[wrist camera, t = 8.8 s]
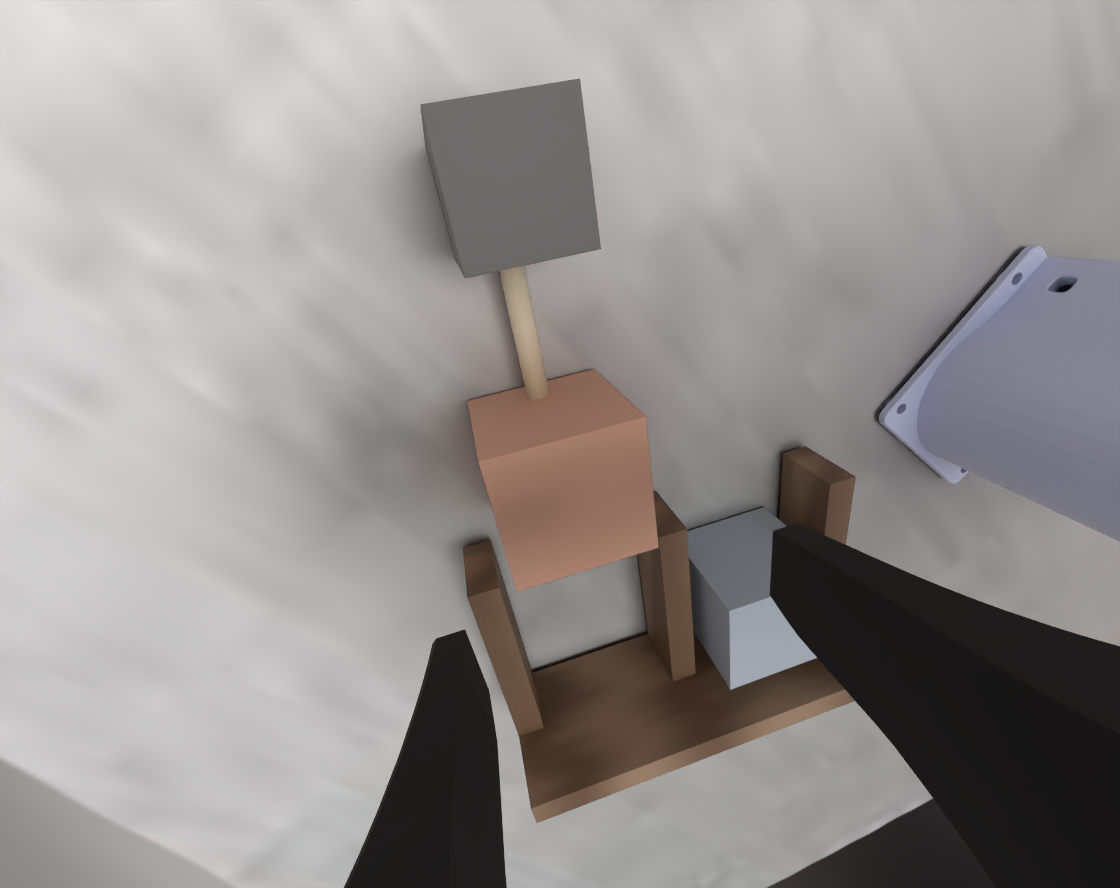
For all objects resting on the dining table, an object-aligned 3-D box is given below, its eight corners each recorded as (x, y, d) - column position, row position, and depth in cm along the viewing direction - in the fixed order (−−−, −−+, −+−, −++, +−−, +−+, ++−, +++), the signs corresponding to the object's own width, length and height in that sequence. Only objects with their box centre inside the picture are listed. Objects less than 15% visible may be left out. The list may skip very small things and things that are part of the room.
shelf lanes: (805, 446, 22) (921, 516, 17) (792, 599, 27) (880, 691, 22) (463, 547, 20) (473, 664, 15) (515, 694, 25) (536, 823, 19)
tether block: (558, 122, 14) (622, 71, 9) (610, 476, 20) (664, 557, 15) (394, 151, 14) (372, 112, 9) (498, 508, 20) (519, 602, 15)
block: (764, 506, 23) (840, 572, 19) (761, 579, 26) (829, 653, 21) (672, 535, 23) (729, 611, 18) (678, 607, 25) (730, 689, 21)
